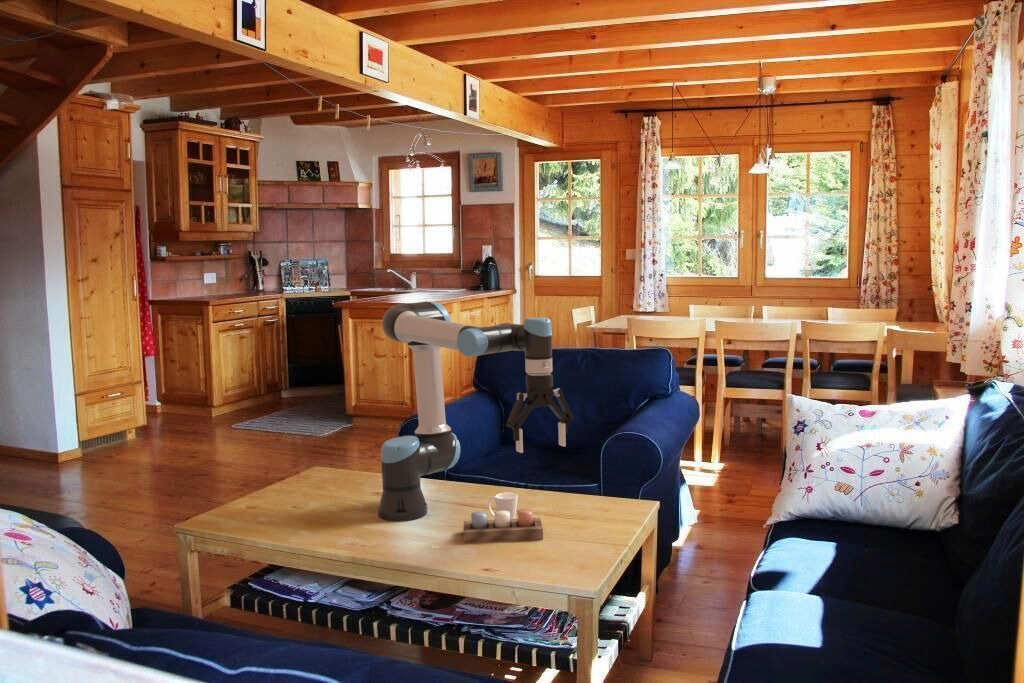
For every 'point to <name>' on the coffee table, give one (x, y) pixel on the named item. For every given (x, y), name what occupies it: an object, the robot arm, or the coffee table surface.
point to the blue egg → (479, 520)
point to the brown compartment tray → (503, 532)
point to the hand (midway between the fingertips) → (541, 448)
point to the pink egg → (525, 518)
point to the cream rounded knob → (502, 519)
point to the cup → (505, 503)
